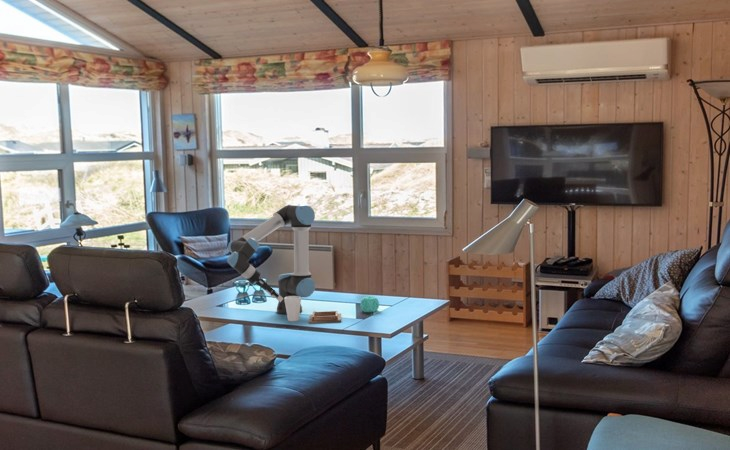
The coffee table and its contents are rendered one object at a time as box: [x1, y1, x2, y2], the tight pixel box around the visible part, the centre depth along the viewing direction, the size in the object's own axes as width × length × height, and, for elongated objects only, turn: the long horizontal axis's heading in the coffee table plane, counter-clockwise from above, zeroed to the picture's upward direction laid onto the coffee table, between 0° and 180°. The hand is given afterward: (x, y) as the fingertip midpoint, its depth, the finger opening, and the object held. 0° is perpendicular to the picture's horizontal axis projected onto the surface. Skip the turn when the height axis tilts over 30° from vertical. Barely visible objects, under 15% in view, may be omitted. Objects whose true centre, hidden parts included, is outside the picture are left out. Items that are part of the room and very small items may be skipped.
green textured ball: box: [360, 296, 380, 313], centre depth 442 cm, size 8×8×8 cm
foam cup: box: [284, 296, 302, 322], centre depth 424 cm, size 10×9×13 cm
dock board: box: [308, 310, 342, 325], centre depth 422 cm, size 18×18×3 cm
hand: (278, 298), depth 420 cm, fingers open, 13 cm apart
